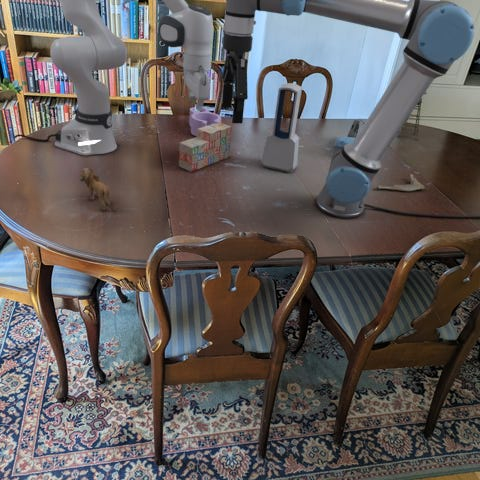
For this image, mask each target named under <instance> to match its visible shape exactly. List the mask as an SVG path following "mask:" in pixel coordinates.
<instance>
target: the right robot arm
mask: <svg viewBox="0 0 480 480" xmlns="http://www.w3.org/2000/svg"><path fill="white" fill-rule="evenodd" d="M256 11H257V12H266V13H273V14H280V15H285V16H287V17H289V16H295V17H296V16H297V17H299V16H301V15H302V14H303V13H307V14H310V15H314V16H315V15H316V16H319V17H325V18H330V19H333V20H338V21H342V22H347V23H350V24H356V25H359V26H364V27H369V28H373V29H377V30H382V31H386V32H391V33H395V34H397V35H398V37H399V38H400V39H403V40H406V41H408V42H407V44H406V45H405V47H404V48H403V50H402V55H403V56H402V57H403V62H402V64H401V65H400V67H399V68H398V70H397V71H396V72H395V75H394V76H393V77H392V79H391V81H390V83H389V84H388V86H387V87H386V88H385V91H384V92H383V94H382V96H381V97H380V98H379V100H378V102H377V104H376V105H375V107H374V108H373V110H372V112H371V113H370V115H369V116H368V118H367V119H366V121H365V123H364V124H363V125H362V127H361V128H360V131H358V133H357V136H356V138H353V137H347V136H340V137H338V138H336V139H335V141H334V145H333V150H332V154H331V159H330V164H329V167H328V172H327V175H326V179H325V183H324V185H323V187H322V189H321V190H320V191H319V193H318V195H317V198H316V206H317V208H318V209H319V210H320V211H322V213H324V214H327V215H328V216H332V217H335V218H340V219H354V218H358V217H361V215H362V214H363V213H364V210H365V207H367V208H371V209H374V210H378V211H383V212H388V213H392V214H399V215H406V216H417V217H432V218H448V219H449V218H451V219H453V218H454V219H456V218H457V219H480V215H455V214H454V215H452V214H451V215H450V214H432V213H431V214H429V213H417V212H416V213H415V212H406V211H398V210H393V209H389V208H388V209H387V208H383V207H379V206H375V205H370V204H367V203H365V198H366V197H367V195H368V194H369V191H370V189H371V183H372V181H373V180H374V179H375V177H376V176H377V174H378V173H379V171H380V169H382V161H381V158H382V157H383V155H384V154H385V152H386V151H387V150H388V148H389V146H390V145H391V144H392V142H393V140H394V139H395V138H396V136H397V135H398V133H400V131H401V130H402V128H403V126H404V125H403V124H404V123H405V121H406V120H407V118H408V117H409V118H410V116H411V115H412V112H413V111H414V110H415V109H414V108H417V107H416V106H418V105H419V101H420V99H421V98H422V99H423V97H424V93H425V92H426V93H427V91H428V89H429V88H430V86H431V84H432V83H433V82H434V81H435V79H437V78H441V77H443V76H445V75H446V74H447V72H448V71H449V70H450V68H451V67H452V65H453V64H454V63H455V61H457V60H459V59H460V58H462V57H463V56H464V54H466V52H468V50H469V49H470V47H471V45H472V43H473V40H474V36H475V25H474V20H473V18H472V16H471V14H470V12H468V10H466V9H465V8H464V7H462V6H460V5H458V4H456V3H455V2H451V1H448V0H225V13H224V24H223V31H224V34H223V42H222V48H223V49H224V50H225V51H226V53H225V60H224V65H223V70H222V75H221V79H222V83H223V85H222V100H221V108H232V118H231V119H232V121H231V123H232V124H243V123H244V122H243V121H244V111H245V101H246V100H248V98H249V96H248V92H249V91H248V61H249V60H248V59H247V58H245V53H250V52H251V51H252V48H253V39H254V37H253V35H252V34H254V28H255V27H254V26H255V25H256V24H257V22H256V21H257V20H255V17H256ZM233 92H234V93H233ZM233 94H234V96H233ZM232 104H233V107H232ZM410 114H411V115H410ZM409 115H410V116H409ZM409 118H408V119H409ZM407 121H408V120H407ZM401 127H402V128H401Z"/></svg>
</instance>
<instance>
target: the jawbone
mask: <svg viewBox="0 0 480 480" xmlns="http://www.w3.org/2000/svg"><path fill="white" fill-rule="evenodd" d="M409 179H410V184H409V183H408V184H393V186H388V185H386V186H385V185H380V184H378V185H377V186H376V188H377V189H380V190H391V191H400V192H409V193H410V192H415V191H419V190H425V189H426V187H425V185H424V184H422V183H421V182H419V181H418V179H417V177H415V176H414V174H413V173H410V174H409Z"/></svg>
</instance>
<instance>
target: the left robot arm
mask: <svg viewBox="0 0 480 480" xmlns="http://www.w3.org/2000/svg"><path fill="white" fill-rule="evenodd" d="M59 2H60V6H61V10H62V14H63V17H64V19H65V20H66V21H67V22H68V23H69V24H70V25H72V26H75V27H76V28H78V29H79V30H80V31H81V32H82V33H83V34H84V35H75V36H72V35H71V36H69V35H68V36H64V37H61V38H57V39H54V40H53V41H52V44H51V46H50V50H49V55H50V59H51V61H52V63H53V65H54V66H55V67H56V68H57V69H58V70H59V71H60V72H62V73H64V74H65V75H66V76H67V77H68V78H69V80H70V81H71V83H72V85H73V86H74V90H75V94H76V101H77V108H76V109H75V110H74V111H71V115H72V116H74V115H75V116H74V118H73V119H72V120H71V121H69V122H68V123H67V124H65V125H64V126H63V127H62V128H61V129H60V130H58V131H57V132H55V134H49V135H48V136H47V138H46V139H41V138H36V137H33V136H28V135H25V134H19V133H18V134H16V135H15V136H13V139H16V138H18V137H21V138H25V139H30V140H33V141H38V142H48V141H50V139H51V138H52V137H55V142H54V146H55V147H57V148H59V149H62V150H65V151H69V152H72V153H74V154H78V155H80V156H84V157H85V156H86V157H87V156H92V155H105V154H108V153H111V152H114V151H115V150H116V149H117V148H118V145H117V142H116V140H115V135H114V131H113V111H112V109H111V97H110V90H109V87H108V86H107V85H106V84H105V83H104V82H102V81H99V80H98V79H95V78H94V76H93V72H94V71H107V70H113V69H118V68H120V67H123V66H124V65H125V64H126V62H127V60H128V59H127V58H128V49H127V46H126V44H125V42H124V41H123V40H122V38H120V37H119V36H117V35H116V34H114V33H113V32H112V31H111V30H110V29H109V27H108V26H107V25H106V24H105V22H104V21H103V19H102V17H101V14H100V12H99V8H98V6H97V2H96V0H59ZM161 2H162V3H163V4H164V5H165V6H166V8H167V9H168V10H169V11H170V12H171V13H169V14H166V15H164V16H162V17H161V18H160V19H159V22H158V24H157V33H158V37H159V40H160V42H161V43H162V44H163V45H165V46H166V47H168V48H179V47H180V48H182V49H183V55H182V56H181V62H182V64H183V67H182V68H183V82H184V85H185V86H186V87H187V89H188V100H189V102H190V103H196V104H195V110H196V112H200V111H202V108H204V107H203V106H204V103H205V101H209V100H210V93H211V92H210V91H211V82H210V76H209V74H208V72H209V71H211V69H212V57H213V56H212V55H213V51H212V43H213V38H214V20H213V19H214V18H213V14H212V12H211V11H210V10H209V8H207V7H204V6H202V5H197V4H190V3H189V2H188V0H161Z"/></svg>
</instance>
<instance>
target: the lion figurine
mask: <svg viewBox="0 0 480 480" xmlns="http://www.w3.org/2000/svg"><path fill="white" fill-rule="evenodd" d="M77 178H78V179H79V181H80V182H81V183H82V182H84V184H85V185H86V187H87V188H88V190H89V194H90V196H89V198H88V199H89V200H94V199H95V196H96V197H98V199H99V201H100V204H101V205H102V207H101V211H106V210H107V206H106V205H108V207H109V208H110V209H111V210H115V209H116V208H115V207H113V206H112V205H111V201H110V190H109V188H108V186H107V184H104V183H103V182H102V181H101V179H100V177H99V175H98V174H97V173H96V172H95V171H94V170H93V169H91V168H89V167H85V168H82V172H80V174H79V175H78V176H77ZM94 192H95V194H94ZM104 197H105V200H106V203H105V200H104Z"/></svg>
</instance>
